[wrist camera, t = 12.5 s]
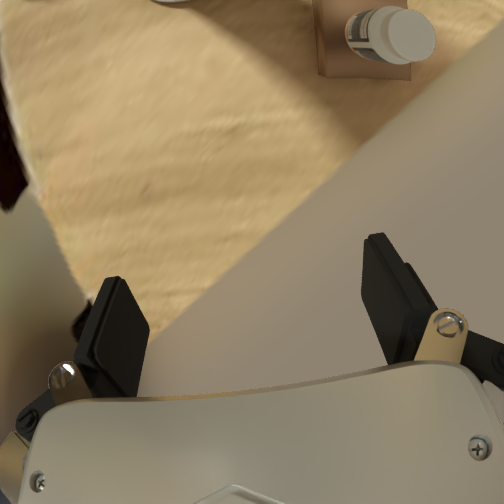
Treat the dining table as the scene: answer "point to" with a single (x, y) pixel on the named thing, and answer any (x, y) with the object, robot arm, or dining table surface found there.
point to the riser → (337, 49)
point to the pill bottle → (391, 35)
